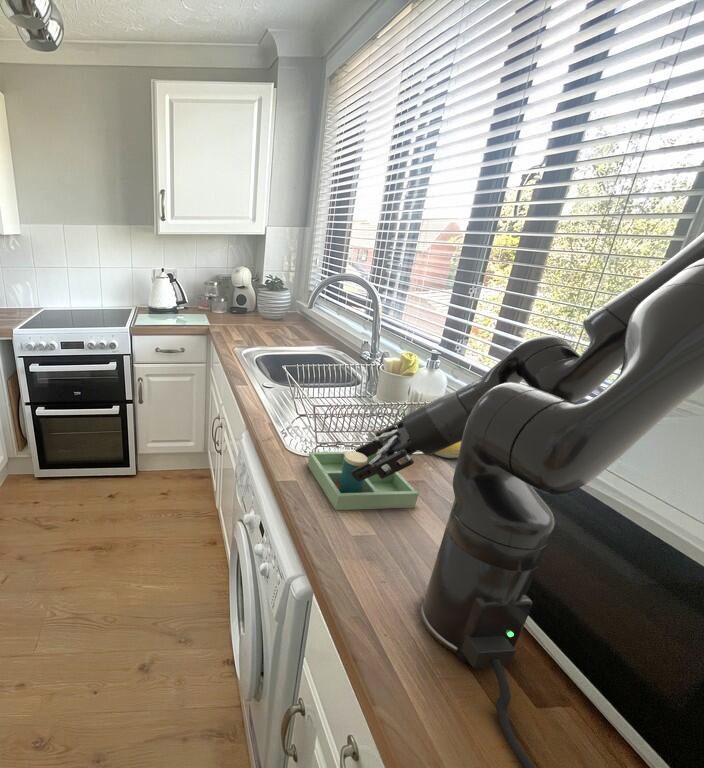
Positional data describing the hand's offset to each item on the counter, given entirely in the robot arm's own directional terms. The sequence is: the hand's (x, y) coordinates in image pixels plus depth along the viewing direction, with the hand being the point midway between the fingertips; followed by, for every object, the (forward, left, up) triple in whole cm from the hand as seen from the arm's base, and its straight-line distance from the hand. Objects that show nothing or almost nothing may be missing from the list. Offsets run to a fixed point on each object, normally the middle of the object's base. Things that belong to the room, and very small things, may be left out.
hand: (356, 465), depth 77 cm
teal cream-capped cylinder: (+1, 0, -6) cm, 6 cm away
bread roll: (+17, -30, -7) cm, 36 cm away
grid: (+4, -3, -7) cm, 9 cm away
